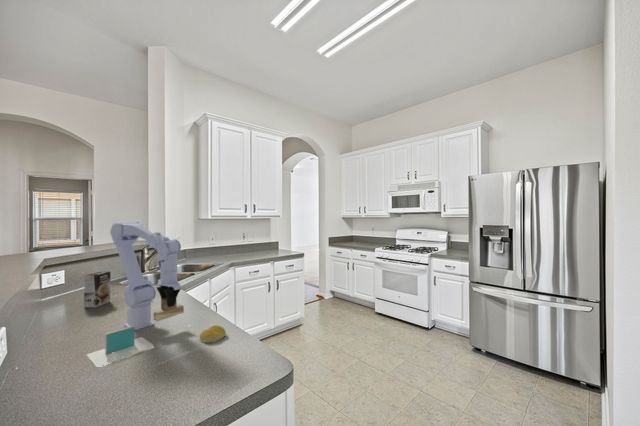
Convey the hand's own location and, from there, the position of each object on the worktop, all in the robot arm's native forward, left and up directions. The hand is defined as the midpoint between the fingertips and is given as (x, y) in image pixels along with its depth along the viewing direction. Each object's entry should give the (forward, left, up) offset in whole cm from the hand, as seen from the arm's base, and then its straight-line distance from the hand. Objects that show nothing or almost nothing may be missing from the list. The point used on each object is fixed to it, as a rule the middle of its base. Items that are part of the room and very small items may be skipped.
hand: (168, 305), depth 105 cm
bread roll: (+19, +8, -11) cm, 23 cm away
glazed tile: (+2, -16, -10) cm, 19 cm away
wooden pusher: (0, 0, -4) cm, 4 cm away
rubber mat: (+4, -16, -10) cm, 20 cm away
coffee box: (-62, -7, -11) cm, 63 cm away
